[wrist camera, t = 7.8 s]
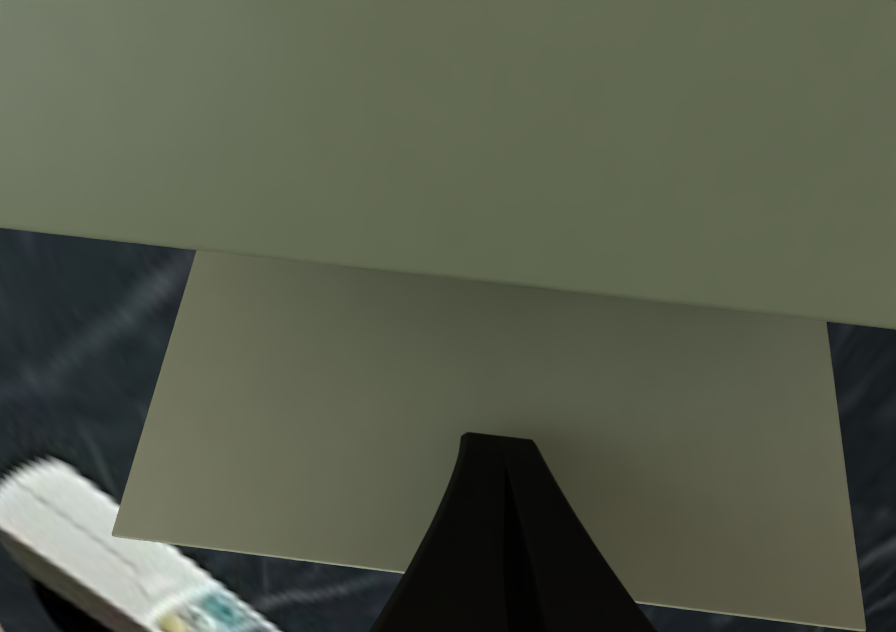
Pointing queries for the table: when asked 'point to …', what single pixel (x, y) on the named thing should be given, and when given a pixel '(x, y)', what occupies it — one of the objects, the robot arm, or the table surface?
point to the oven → (475, 140)
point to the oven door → (500, 429)
